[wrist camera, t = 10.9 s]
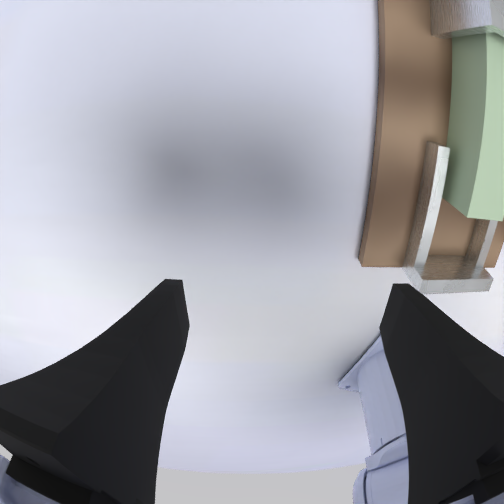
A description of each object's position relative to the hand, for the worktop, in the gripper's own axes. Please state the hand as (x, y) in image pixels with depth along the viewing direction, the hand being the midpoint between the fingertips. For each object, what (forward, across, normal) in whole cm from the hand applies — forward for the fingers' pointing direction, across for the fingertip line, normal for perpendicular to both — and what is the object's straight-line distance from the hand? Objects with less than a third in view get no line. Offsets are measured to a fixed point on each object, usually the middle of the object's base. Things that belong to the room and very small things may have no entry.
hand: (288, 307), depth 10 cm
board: (+9, -11, -7) cm, 17 cm away
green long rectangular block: (+8, -11, -8) cm, 16 cm away
